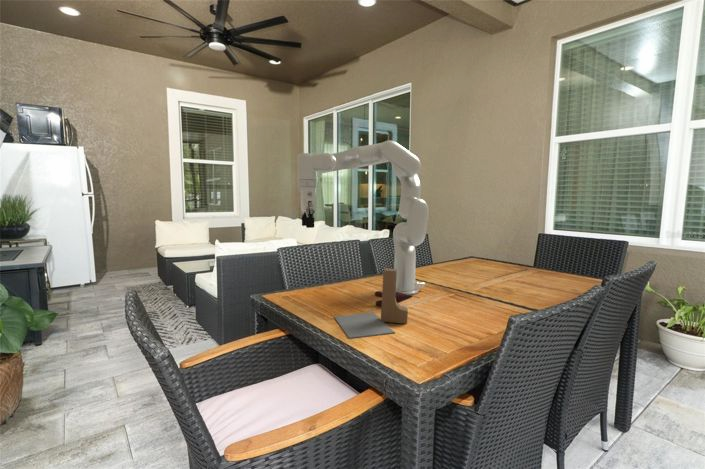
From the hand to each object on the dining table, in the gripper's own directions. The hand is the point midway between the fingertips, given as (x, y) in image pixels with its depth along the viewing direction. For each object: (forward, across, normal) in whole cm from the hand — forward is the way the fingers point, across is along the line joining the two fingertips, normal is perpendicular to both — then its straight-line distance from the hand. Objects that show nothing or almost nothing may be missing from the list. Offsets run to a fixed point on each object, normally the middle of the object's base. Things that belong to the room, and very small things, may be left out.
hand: (307, 226), depth 146 cm
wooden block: (+31, -35, -23) cm, 52 cm away
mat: (+31, -34, -12) cm, 48 cm away
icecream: (+31, -18, -30) cm, 47 cm away
